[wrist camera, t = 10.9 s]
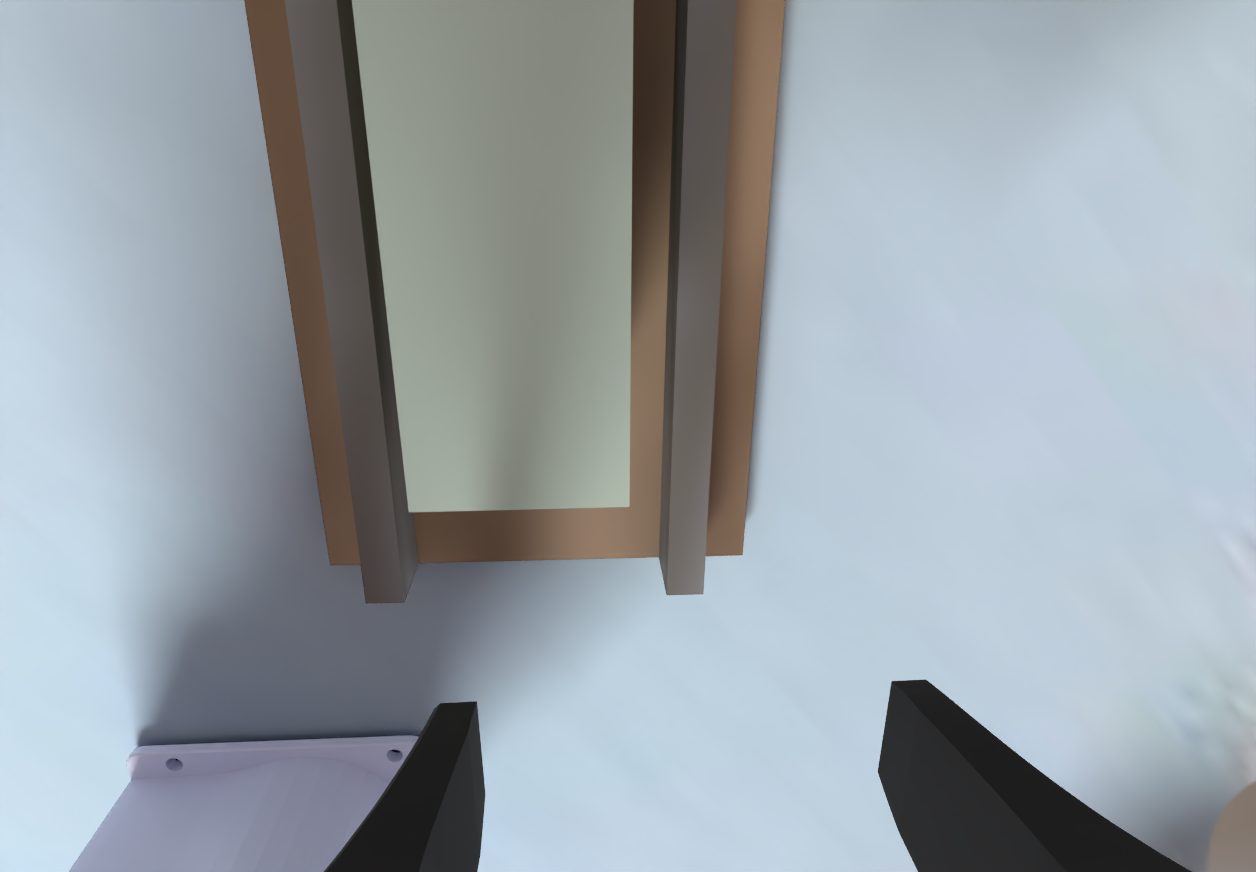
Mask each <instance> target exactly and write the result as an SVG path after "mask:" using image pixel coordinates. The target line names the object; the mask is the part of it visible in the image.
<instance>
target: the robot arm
mask: <svg viewBox="0 0 1256 872" xmlns="http://www.w3.org/2000/svg"><path fill="white" fill-rule="evenodd" d="M393 749H395V750H399V751H401V752H400V753H396V752H393V751H391V750H393ZM173 758H174V759H173ZM175 759H178V760H180V761H181V762H180V761H176V760H175ZM127 768H128V772H129V775H130V778H131V781H130V783H129V784H128V785H127V787H126V788H125V790H124V791H123V793H122V794H121V796H120V797H119V799H118V800H117V802H116V803H115V805H114V806H113V807H112V809H111V810H110V812H109V813H108V815H107V816H106V818H105V819H104V821H103V822H102V824H101V825H100V827H99V828H98V829H97V831H96V832H95V834H94V835H93V837H92V838H91V840H90V841H89V843H88V844H87V846H86V847H85V849H84V850H83V851H82V853H81V854H80V856H79V857H78V859H77V860H76V862H75V863H74V865H73V866H72V868H71V869H70V870H69V872H477V869H478V864H479V858H480V850H481V839H482V828H483V815H484V802H485V787H484V776H483V765H482V754H481V743H480V732H479V721H478V710H477V702H458V703H440V704H439V705H438V706H437V707H436V708H435V709H434V711H433V712H432V714H431V716H430V718H429V720H428V722H427V724H426V725H425V727H424V729H423V731H422V732H421V734H420V736H419V737H418V736H412V735H407V736H382V737H356V738H331V739H306V740H280V741H255V742H229V743H204V744H178V745H153V746H141V747H138V748H136V749H134V750H133V752H132V753H131V755H130V756H129V758H128V759H127ZM878 774H879V777H880V780H881V783H882V786H883V789H884V792H885V795H886V798H887V801H888V803H889V806H890V809H891V812H892V814H893V817H894V820H895V823H896V825H897V828H898V831H899V833H900V835H901V837H902V839H903V841H904V843H905V845H906V848H907V850H908V852H909V854H910V856H911V858H912V860H913V862H914V864H915V866H916V868H917V870H918V872H1191V871H1189V870H1188V869H1186V868H1184V867H1182V866H1181V865H1179V864H1177V863H1176V862H1174V861H1172V860H1171V859H1169V858H1167V857H1165V856H1164V855H1162V854H1160V853H1159V852H1157V851H1156V850H1154V849H1152V848H1151V847H1149V846H1148V845H1146V844H1145V843H1143V842H1141V841H1140V840H1138V839H1137V838H1135V837H1133V836H1132V835H1130V834H1129V833H1127V832H1126V831H1124V830H1122V829H1121V828H1119V827H1118V826H1116V825H1115V824H1113V823H1112V822H1110V821H1109V820H1107V819H1106V818H1104V817H1103V816H1101V815H1100V814H1098V813H1097V812H1095V811H1094V810H1092V809H1091V808H1089V807H1088V806H1087V805H1085V804H1084V803H1083V802H1081V801H1080V800H1078V799H1077V798H1076V797H1074V796H1073V795H1071V794H1070V793H1069V792H1067V791H1066V790H1064V789H1063V788H1062V787H1060V786H1059V785H1057V784H1056V783H1055V782H1053V781H1052V780H1051V779H1049V778H1048V777H1047V776H1045V775H1044V774H1043V773H1041V772H1040V771H1039V770H1037V769H1036V768H1035V767H1034V766H1032V765H1031V764H1030V763H1028V762H1027V761H1026V760H1025V759H1023V758H1022V757H1021V756H1019V755H1018V754H1017V753H1016V752H1014V751H1013V750H1012V749H1011V748H1009V747H1008V746H1007V745H1006V744H1004V743H1003V742H1002V741H1001V740H999V739H998V738H997V737H996V736H994V735H993V734H992V733H991V732H989V731H988V730H987V729H986V728H985V727H983V726H982V725H981V724H980V723H979V722H977V721H976V720H975V719H974V718H972V717H971V716H970V715H969V714H968V713H966V712H965V711H964V710H963V709H962V708H960V707H959V706H958V705H957V704H955V703H954V702H953V701H952V700H951V699H949V698H948V697H947V696H946V695H945V694H943V693H942V692H941V691H940V690H938V689H937V688H936V687H935V686H933V685H932V684H931V683H929V682H928V681H927V680H909V681H892V683H891V690H890V696H889V703H888V709H887V716H886V722H885V729H884V735H883V742H882V748H881V755H880V761H879V768H878Z"/></svg>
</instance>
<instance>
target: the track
mask: <svg viewBox="0 0 1256 872" xmlns="http://www.w3.org/2000/svg"><path fill="white" fill-rule="evenodd" d="M244 1H245V7H246V14H247V20H248V27H249V34H250V40H251V47H252V53H253V60H254V67H255V73H256V80H257V86H258V93H259V100H260V106H261V113H262V119H263V126H264V133H265V139H266V146H267V152H268V159H269V166H270V172H271V179H272V185H273V192H274V198H275V205H276V212H277V218H278V225H279V231H280V238H281V245H282V251H283V258H284V264H285V271H286V278H287V284H288V291H289V297H290V304H291V311H292V317H293V324H294V330H295V337H296V344H297V350H298V357H299V363H300V370H301V376H302V383H303V390H304V396H305V403H306V409H307V416H308V423H309V429H310V436H311V442H312V449H313V456H314V462H315V469H316V475H317V482H318V489H319V495H320V502H321V508H322V515H323V522H324V528H325V535H326V541H327V548H328V555H329V561H330V565H360V564H361V571H362V578H363V585H364V593H365V600H366V603H402V602H405V599H406V597H407V594H408V591H409V588H410V585H411V583H412V580H413V577H414V574H415V571H416V569H417V566H418V563H442V562H482V561H523V560H564V559H605V558H646V557H659V560H660V565H661V569H662V574H663V579H664V584H665V589H666V594H667V595H690V594H703V590H704V572H705V556H728V555H743V542H744V529H745V516H746V503H747V490H748V477H749V464H750V451H751V438H752V425H753V412H754V399H755V386H756V373H757V360H758V347H759V334H760V321H761V308H762V295H763V282H764V269H765V256H766V243H767V230H768V217H769V204H770V191H771V178H772V165H773V152H774V139H775V126H776V113H777V100H778V87H779V74H780V61H781V48H782V35H783V22H784V9H785V0H634V3H633V127H632V252H631V376H630V501H629V507H606V508H566V509H526V510H486V511H445V512H409V510H408V501H407V492H406V483H405V474H404V465H403V456H402V447H401V438H400V429H399V420H398V411H397V402H396V393H395V384H394V375H393V366H392V357H391V348H390V339H389V330H388V321H387V312H386V303H385V294H384V285H383V276H382V267H381V258H380V249H379V240H378V231H377V222H376V213H375V204H374V195H373V186H372V177H371V169H370V160H369V151H368V142H367V133H366V124H365V115H364V106H363V97H362V88H361V79H360V70H359V61H358V52H357V43H356V34H355V25H354V16H353V7H352V0H244Z"/></svg>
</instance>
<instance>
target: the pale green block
mask: <svg viewBox="0 0 1256 872" xmlns="http://www.w3.org/2000/svg"><path fill="white" fill-rule="evenodd" d="M633 3H634V0H352V7H353V16H354V25H355V34H356V43H357V52H358V61H359V70H360V79H361V88H362V97H363V106H364V115H365V124H366V133H367V142H368V151H369V160H370V169H371V177H372V186H373V195H374V204H375V213H376V222H377V231H378V240H379V249H380V258H381V267H382V276H383V285H384V294H385V303H386V312H387V321H388V330H389V339H390V348H391V357H392V366H393V375H394V384H395V393H396V402H397V411H398V420H399V429H400V438H401V447H402V456H403V465H404V474H405V483H406V492H407V501H408V510H409V512H445V511H486V510H526V509H566V508H606V507H629V501H630V376H631V252H632V127H633Z"/></svg>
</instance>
